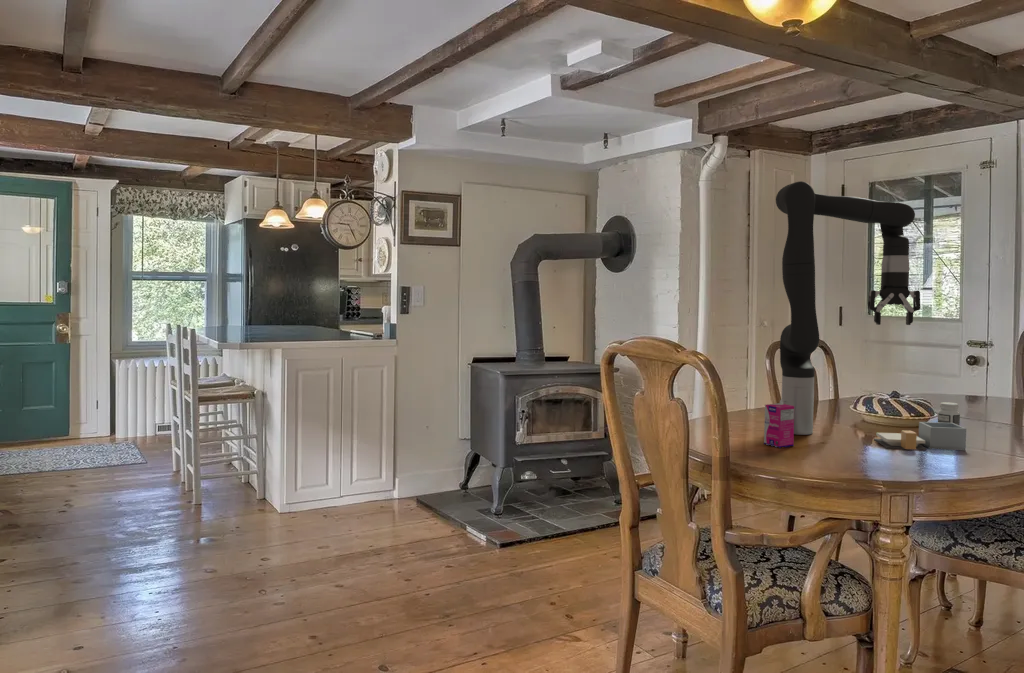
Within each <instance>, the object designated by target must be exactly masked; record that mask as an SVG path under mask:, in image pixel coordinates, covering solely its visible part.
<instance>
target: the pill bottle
mask: <svg viewBox="0 0 1024 673" xmlns="http://www.w3.org/2000/svg"><path fill="white" fill-rule="evenodd" d="M939 407H940V409H939V410H938V412H937V422H939V423H954V424H957V425H959V426H961V425H960V424H961V421H960V420H961V419H960V418H961V414H960V412H959V411H958V409H959V403H956V402H948V401H947V402H940V406H939Z"/></svg>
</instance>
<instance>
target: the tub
mask: <svg viewBox="0 0 1024 673" xmlns="http://www.w3.org/2000/svg"><path fill="white" fill-rule="evenodd" d="M918 437H919V438H921V439H923V440H925V444H924V443H919V445H921V446H923V447H925V448H926V449H929V450H947V451H949V450H950V451H966V446H967V445H966V444H967V443H966V442H967V428H966V427H964V426H961V425H960V426H959V425H957V424H954V423H939V422H938V421H937V422H935V421H934V422H933V421H918Z"/></svg>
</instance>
